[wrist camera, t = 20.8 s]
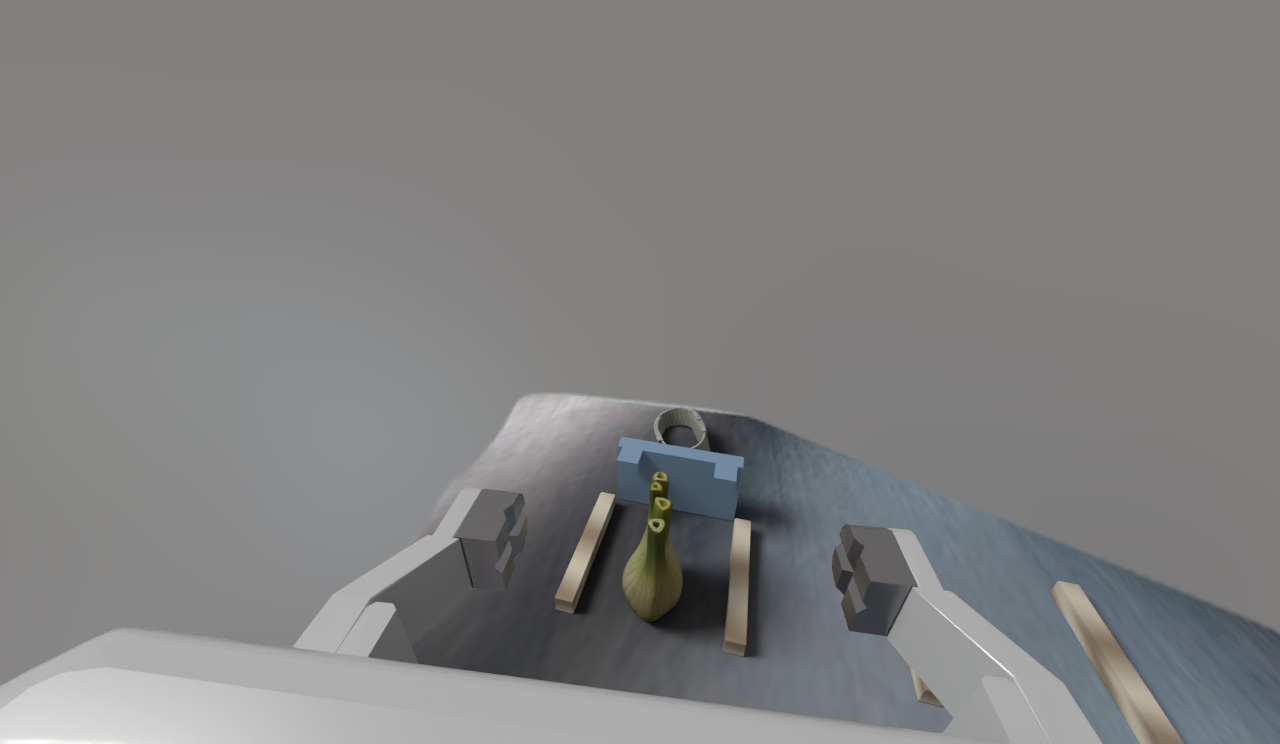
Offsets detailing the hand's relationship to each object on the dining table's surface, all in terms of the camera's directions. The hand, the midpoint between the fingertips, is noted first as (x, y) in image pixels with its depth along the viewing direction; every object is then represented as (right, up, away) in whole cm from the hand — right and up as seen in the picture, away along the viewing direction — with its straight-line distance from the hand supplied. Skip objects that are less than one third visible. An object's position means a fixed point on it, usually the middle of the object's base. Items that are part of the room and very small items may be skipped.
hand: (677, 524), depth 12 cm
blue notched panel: (+3, -10, +35) cm, 37 cm away
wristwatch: (+4, -6, +44) cm, 44 cm away
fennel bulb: (0, -15, +26) cm, 30 cm away
